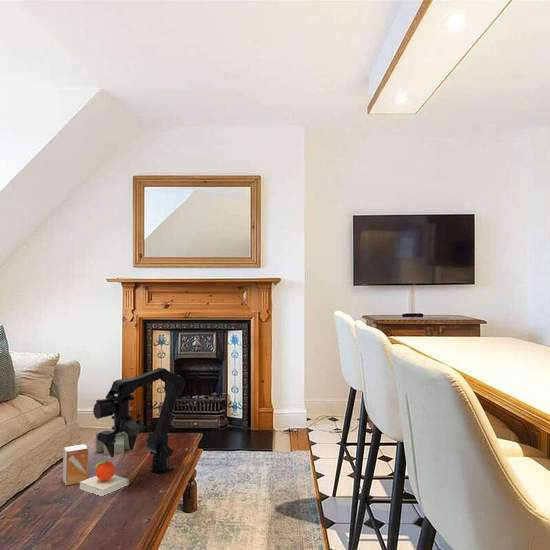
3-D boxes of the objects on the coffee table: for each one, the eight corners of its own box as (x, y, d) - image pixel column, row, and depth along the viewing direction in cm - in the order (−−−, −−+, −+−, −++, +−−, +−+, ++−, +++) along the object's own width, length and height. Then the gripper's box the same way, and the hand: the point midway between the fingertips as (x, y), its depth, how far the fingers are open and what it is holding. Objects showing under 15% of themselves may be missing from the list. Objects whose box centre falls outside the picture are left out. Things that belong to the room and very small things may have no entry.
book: (105, 479, 191) (105, 471, 191) (128, 486, 184) (128, 478, 184) (79, 490, 181) (79, 482, 181) (102, 498, 174) (102, 489, 174)
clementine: (94, 485, 177) (96, 466, 177) (89, 478, 183) (91, 459, 183) (116, 481, 182) (118, 462, 182) (110, 475, 187) (112, 456, 187)
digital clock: (133, 448, 228) (133, 425, 228) (129, 454, 219) (129, 431, 219) (98, 449, 226) (98, 426, 227) (92, 455, 217) (93, 431, 218)
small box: (65, 486, 183) (66, 451, 184) (62, 480, 189) (63, 447, 189) (88, 481, 188) (88, 447, 188) (84, 476, 193) (84, 443, 194)
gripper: (116, 422, 175) (116, 465, 175) (154, 410, 191) (154, 449, 191) (96, 417, 181) (96, 459, 181) (134, 406, 197) (135, 445, 197)
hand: (122, 453), depth 187 cm, fingers open, 9 cm apart
